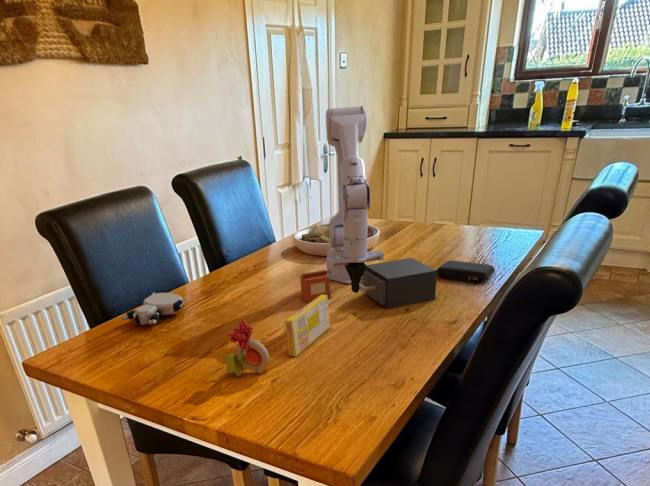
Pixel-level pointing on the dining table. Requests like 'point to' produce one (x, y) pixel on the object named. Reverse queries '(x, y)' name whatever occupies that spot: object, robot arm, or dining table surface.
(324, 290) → the ridged terracotta block
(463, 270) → the carrying case
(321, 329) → the candy box
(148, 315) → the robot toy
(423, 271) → the cabinet
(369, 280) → the drawer
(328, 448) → the dining table surface
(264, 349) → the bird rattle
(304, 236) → the bowl
